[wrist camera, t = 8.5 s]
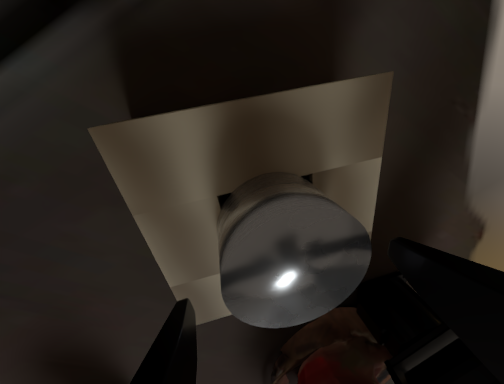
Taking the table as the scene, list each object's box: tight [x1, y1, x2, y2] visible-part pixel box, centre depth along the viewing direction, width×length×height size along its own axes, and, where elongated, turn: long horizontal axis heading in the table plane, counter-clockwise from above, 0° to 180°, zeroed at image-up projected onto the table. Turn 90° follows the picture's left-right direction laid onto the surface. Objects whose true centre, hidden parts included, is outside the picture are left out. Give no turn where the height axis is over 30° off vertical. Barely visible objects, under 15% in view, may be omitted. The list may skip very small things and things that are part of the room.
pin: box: [217, 172, 372, 328], centre depth 12 cm, size 7×7×9 cm
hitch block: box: [87, 71, 394, 325], centre depth 14 cm, size 14×14×5 cm
